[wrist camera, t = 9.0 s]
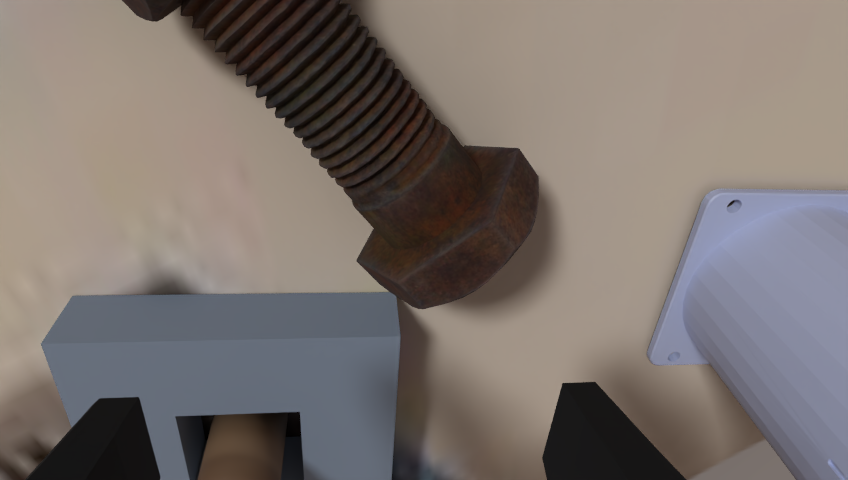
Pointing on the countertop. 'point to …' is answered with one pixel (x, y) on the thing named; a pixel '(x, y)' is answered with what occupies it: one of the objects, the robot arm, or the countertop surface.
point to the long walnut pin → (245, 447)
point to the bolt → (376, 143)
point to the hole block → (240, 372)
